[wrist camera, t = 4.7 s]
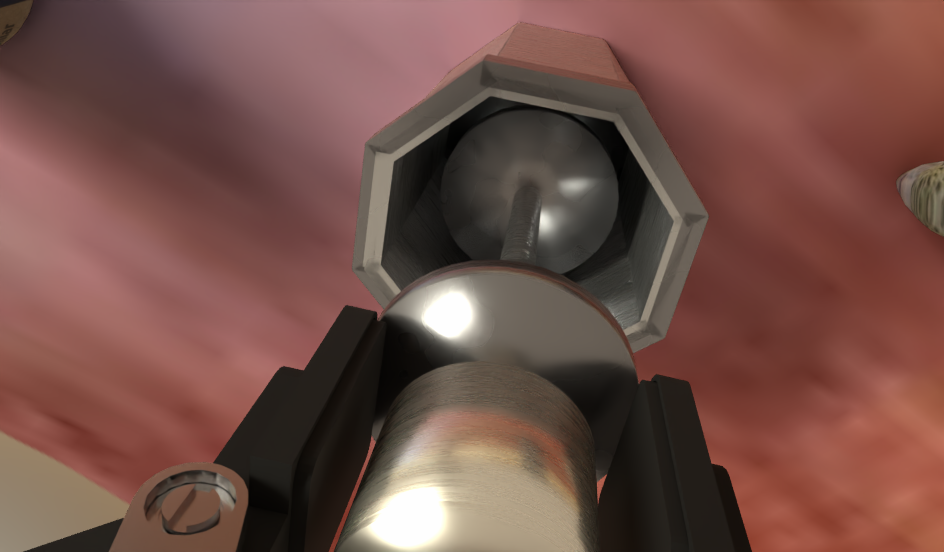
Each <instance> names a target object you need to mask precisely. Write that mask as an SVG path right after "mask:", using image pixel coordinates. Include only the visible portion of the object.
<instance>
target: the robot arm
mask: <svg viewBox="0 0 944 552" xmlns="http://www.w3.org/2000/svg"><path fill="white" fill-rule="evenodd" d="M386 327H387V324H386V322H383V321H378V320H377V312H375V311H371V310H366V309H362V308H357V307H353V306H348V305H346V306H345V307H344V308H343V310H342V311H341V313H340V314H339V316H338V317H337V319H336V321H335V322H334V324H333V325H332V327H331V328H330V330H329V332H328V333H327V335H326V336H325V338H324V340H323V341H322V343H321V344H320V346H319V347H318V349H317V351H316V352H315V354H314V355H313V357H312V358H311V360H310V362H309V363H308V365H307V366H306V368H305V370H304V371H303V370H299V369H294V368H290V367H285V366H283V367H281V368H280V369H279V370H278V371H277V372H276V373H275V375H274V376H273V378H272V379H271V381H270V382H269V383H268V385H267V386H266V388H265V389H264V391H263V392H262V394H261V395H260V396H259V398H258V399H257V401H256V402H255V404H254V405H253V406H252V408H251V409H250V411H249V412H248V414H247V415H246V417H245V418H244V419H243V421H242V422H241V424H240V425H239V427H238V428H237V429H236V431H235V432H234V434H233V435H232V437H231V438H230V440H229V441H228V442H227V444H226V445H225V447H224V448H223V450H222V451H221V452H220V454H219V455H218V457H217V458H216V460H215V461H214V463H207V462H195V463H185V464H181V465H177V466H173V467H170V468H168V469H166V470H164V471H161V472H159V473H157V474H155V475H154V476H153V477H151V478H150V479H149V480H148V481H146V482H145V483H144V484H143V485H142V486H141V487H140V489H139V490H138V492H137V493H136V494H135V496H134V497H133V499H132V502H131V504H130V506H129V508H128V510H127V513H126V515H125V517H124V518H122V519H119V520H116V521H113V522H110V523H107V524H104V525H101V526H98V527H95V528H92V529H89V530H86V531H83V532H80V533H77V534H74V535H71V536H69V537H66V538H63V539H60V540H57V541H54V542H51V543H48V544H45V545H42V546H39V547H36V548H33V549H30V550H27V551H24V552H329V549H330V547H331V544H332V542H333V539H334V537H335V534H336V532H337V529H338V527H339V524H340V522H341V519H342V517H343V514H344V512H345V509H346V507H347V504H348V502H349V499H350V497H351V495H352V492H353V490H354V487H355V485H356V482H357V480H358V477H359V475H360V472H361V470H362V467H363V465H364V462H365V460H366V457H367V454H368V450H369V446H370V441H371V435H372V428H373V421H374V414H375V407H376V400H377V392H378V385H379V378H380V371H381V364H382V357H383V350H384V342H385V335H386ZM598 520H599V540H600V552H752V550H751V547H750V544H749V540H748V537H747V534H746V530H745V527H744V524H743V520H742V517H741V514H740V510H739V507H738V504H737V500H736V497H735V493H734V490H733V487H732V483H731V480H730V477H729V474H728V472H727V470H726V469H725V468H724V467H723V466H720V465H715V464H711V460H710V457H709V453H708V449H707V446H706V442H705V438H704V435H703V431H702V427H701V423H700V420H699V416H698V412H697V409H696V405H695V401H694V398H693V394H692V390H691V387H690V384H689V382H687V381H684V380H679V379H675V378H670V377H666V376H661V375H657V374H656V375H654V377H653V378H652V380H651V381H646V380H642V381H641V382H640V384H639V386H638V389H637V392H636V394H635V397H634V400H633V403H632V406H631V409H630V411H629V414H628V417H627V420H626V423H625V425H624V428H623V431H622V434H621V437H620V440H619V442H618V445H617V448H616V451H615V454H614V456H613V459H612V462H611V465H610V468H609V471H608V473H607V476H606V479H605V482H604V485H603V488H602V490H601V494H600V498H599V503H598Z"/></svg>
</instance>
